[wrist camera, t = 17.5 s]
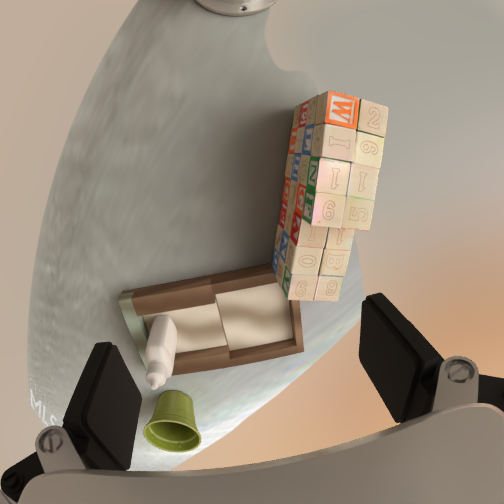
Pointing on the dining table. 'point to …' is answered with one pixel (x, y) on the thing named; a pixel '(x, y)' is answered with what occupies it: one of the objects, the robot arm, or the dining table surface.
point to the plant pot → (173, 424)
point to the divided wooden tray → (218, 319)
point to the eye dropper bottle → (160, 351)
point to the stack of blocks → (327, 192)
